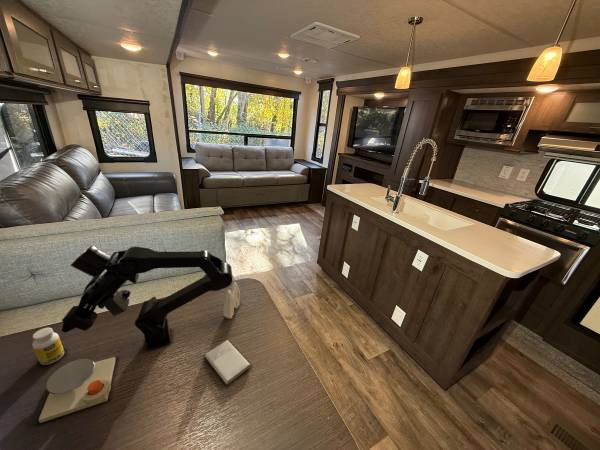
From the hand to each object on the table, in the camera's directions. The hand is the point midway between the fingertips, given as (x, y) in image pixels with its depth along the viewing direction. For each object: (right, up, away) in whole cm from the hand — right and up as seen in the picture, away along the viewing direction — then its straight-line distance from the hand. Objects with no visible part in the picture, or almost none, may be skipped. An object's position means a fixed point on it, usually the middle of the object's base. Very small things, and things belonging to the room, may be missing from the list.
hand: (72, 319), depth 71 cm
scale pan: (+4, -14, -5) cm, 15 cm away
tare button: (+13, -16, -7) cm, 21 cm away
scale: (+7, -17, -4) cm, 19 cm away
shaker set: (+39, -7, +27) cm, 47 cm away
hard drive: (+43, -16, +6) cm, 46 cm away
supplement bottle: (-8, -13, +3) cm, 15 cm away
